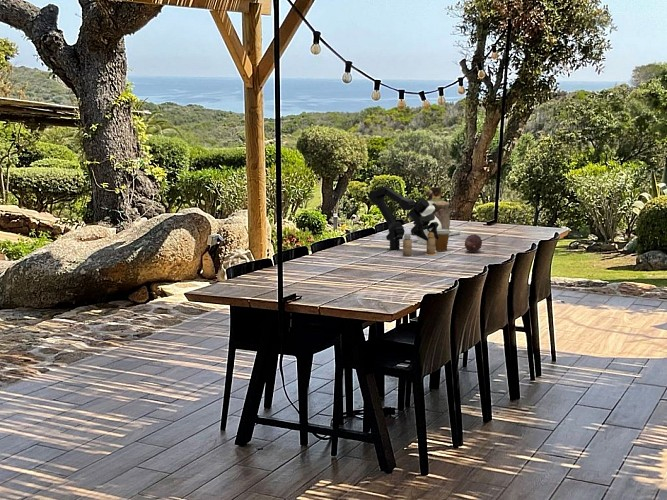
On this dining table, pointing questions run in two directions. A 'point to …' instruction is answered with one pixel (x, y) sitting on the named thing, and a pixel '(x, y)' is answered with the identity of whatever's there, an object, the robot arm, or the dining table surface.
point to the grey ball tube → (407, 245)
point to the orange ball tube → (430, 244)
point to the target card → (412, 255)
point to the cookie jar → (440, 208)
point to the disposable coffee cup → (442, 240)
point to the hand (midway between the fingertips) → (432, 239)
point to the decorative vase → (427, 212)
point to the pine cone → (473, 243)
